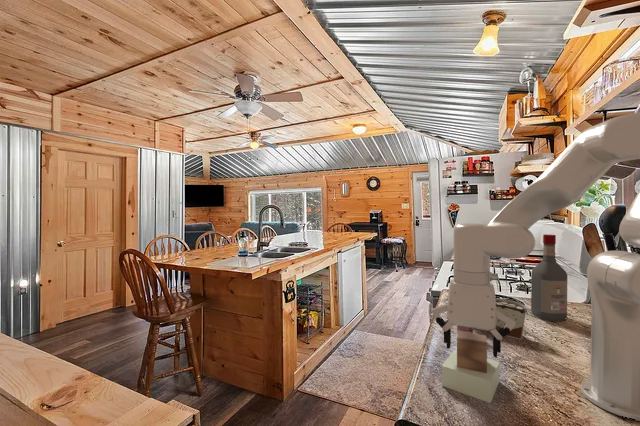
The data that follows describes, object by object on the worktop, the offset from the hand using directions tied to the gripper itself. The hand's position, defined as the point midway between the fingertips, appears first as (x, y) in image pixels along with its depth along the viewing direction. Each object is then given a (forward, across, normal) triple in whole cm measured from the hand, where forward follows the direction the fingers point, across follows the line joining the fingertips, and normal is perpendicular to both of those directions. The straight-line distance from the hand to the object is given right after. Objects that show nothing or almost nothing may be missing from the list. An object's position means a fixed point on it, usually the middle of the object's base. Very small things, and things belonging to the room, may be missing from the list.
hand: (471, 350), depth 71 cm
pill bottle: (+8, +2, -29) cm, 30 cm away
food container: (+8, -10, -36) cm, 38 cm away
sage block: (+8, 0, 0) cm, 8 cm away
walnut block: (+3, 0, 0) cm, 3 cm away
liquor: (+8, -25, -58) cm, 64 cm away
